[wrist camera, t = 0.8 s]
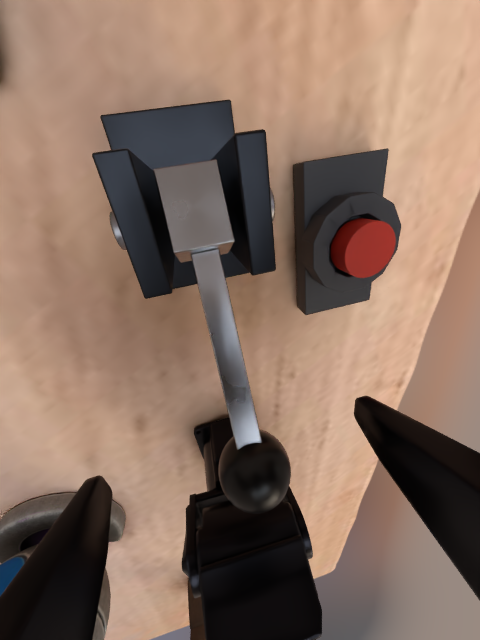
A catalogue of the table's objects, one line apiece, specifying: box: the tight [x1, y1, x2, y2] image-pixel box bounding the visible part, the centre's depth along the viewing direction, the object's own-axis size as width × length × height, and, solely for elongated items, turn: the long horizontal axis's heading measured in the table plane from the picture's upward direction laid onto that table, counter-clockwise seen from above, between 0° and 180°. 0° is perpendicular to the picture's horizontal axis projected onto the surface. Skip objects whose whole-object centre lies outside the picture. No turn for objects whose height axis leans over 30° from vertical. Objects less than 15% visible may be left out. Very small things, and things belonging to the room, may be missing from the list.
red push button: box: [330, 218, 396, 278], centre depth 16 cm, size 4×4×2 cm
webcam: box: [0, 493, 126, 640], centre depth 22 cm, size 13×13×15 cm
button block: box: [293, 149, 401, 315], centre depth 18 cm, size 11×6×4 cm, turn 9°
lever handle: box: [153, 160, 291, 514], centre depth 10 cm, size 14×3×3 cm, turn 9°
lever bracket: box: [92, 100, 276, 299], centre depth 12 cm, size 10×7×10 cm
